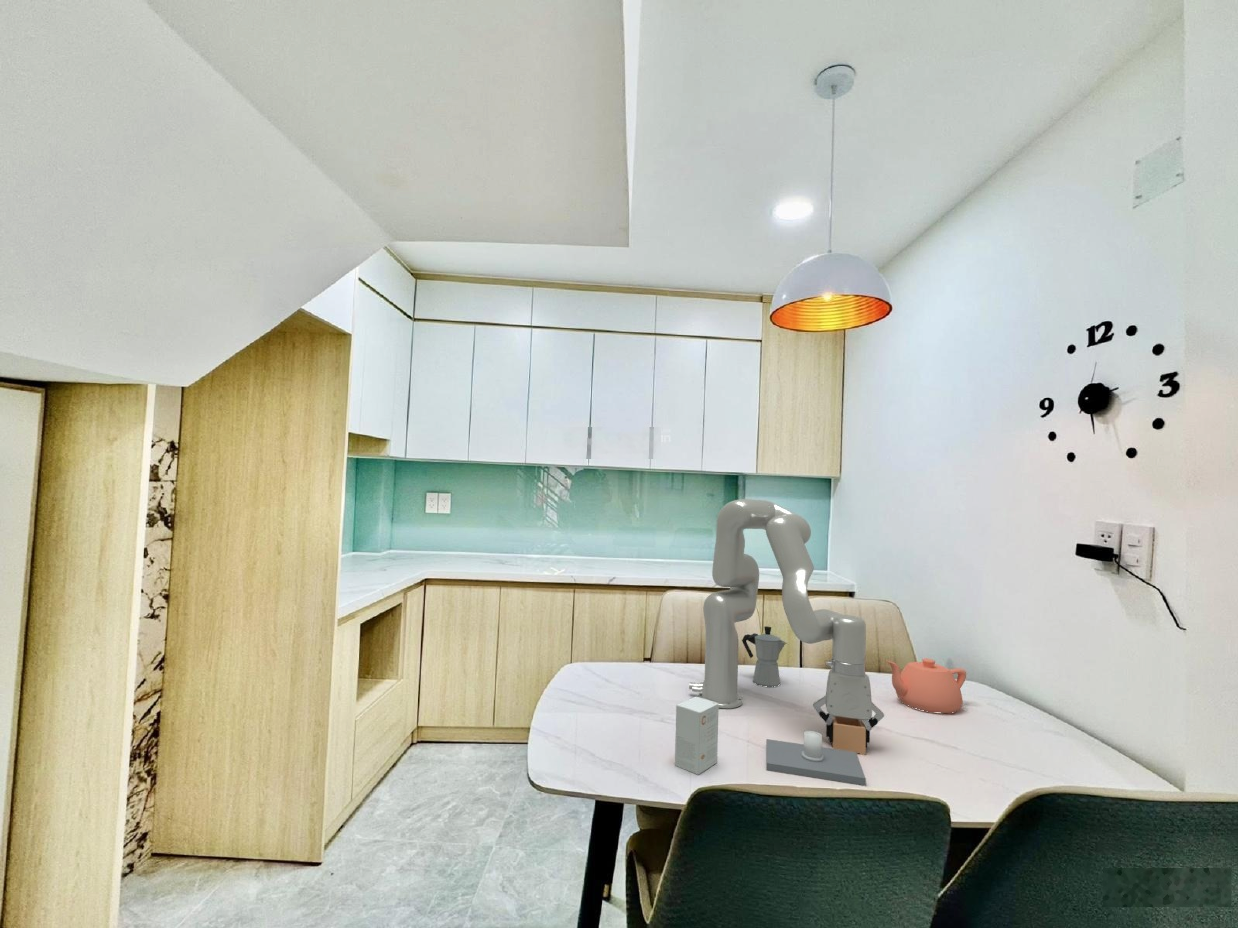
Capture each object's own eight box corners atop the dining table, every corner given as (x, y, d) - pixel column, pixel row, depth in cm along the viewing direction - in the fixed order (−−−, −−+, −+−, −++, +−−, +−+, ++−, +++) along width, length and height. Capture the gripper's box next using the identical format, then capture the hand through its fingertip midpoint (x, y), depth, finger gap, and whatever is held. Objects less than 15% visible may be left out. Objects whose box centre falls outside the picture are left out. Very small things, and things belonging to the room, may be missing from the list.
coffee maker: (789, 683, 182) (791, 627, 183) (782, 690, 175) (783, 632, 176) (745, 674, 190) (747, 620, 191) (736, 681, 183) (738, 625, 184)
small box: (693, 753, 128) (695, 695, 129) (717, 763, 124) (719, 702, 125) (673, 765, 122) (675, 704, 123) (698, 775, 118) (700, 712, 119)
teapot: (901, 715, 158) (902, 667, 159) (870, 694, 175) (870, 651, 176) (985, 716, 160) (985, 668, 161) (946, 695, 177) (946, 652, 178)
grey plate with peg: (766, 770, 122) (767, 739, 122) (766, 745, 134) (767, 717, 135) (865, 785, 117) (865, 753, 117) (855, 758, 129) (856, 729, 130)
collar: (833, 750, 133) (834, 724, 134) (830, 738, 140) (830, 713, 140) (865, 754, 131) (865, 728, 132) (860, 742, 138) (860, 717, 139)
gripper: (812, 668, 136) (810, 743, 134) (890, 676, 131) (889, 755, 130) (809, 659, 143) (808, 731, 142) (884, 667, 138) (883, 741, 137)
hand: (847, 742), depth 136 cm, fingers closed on collar, 7 cm apart
